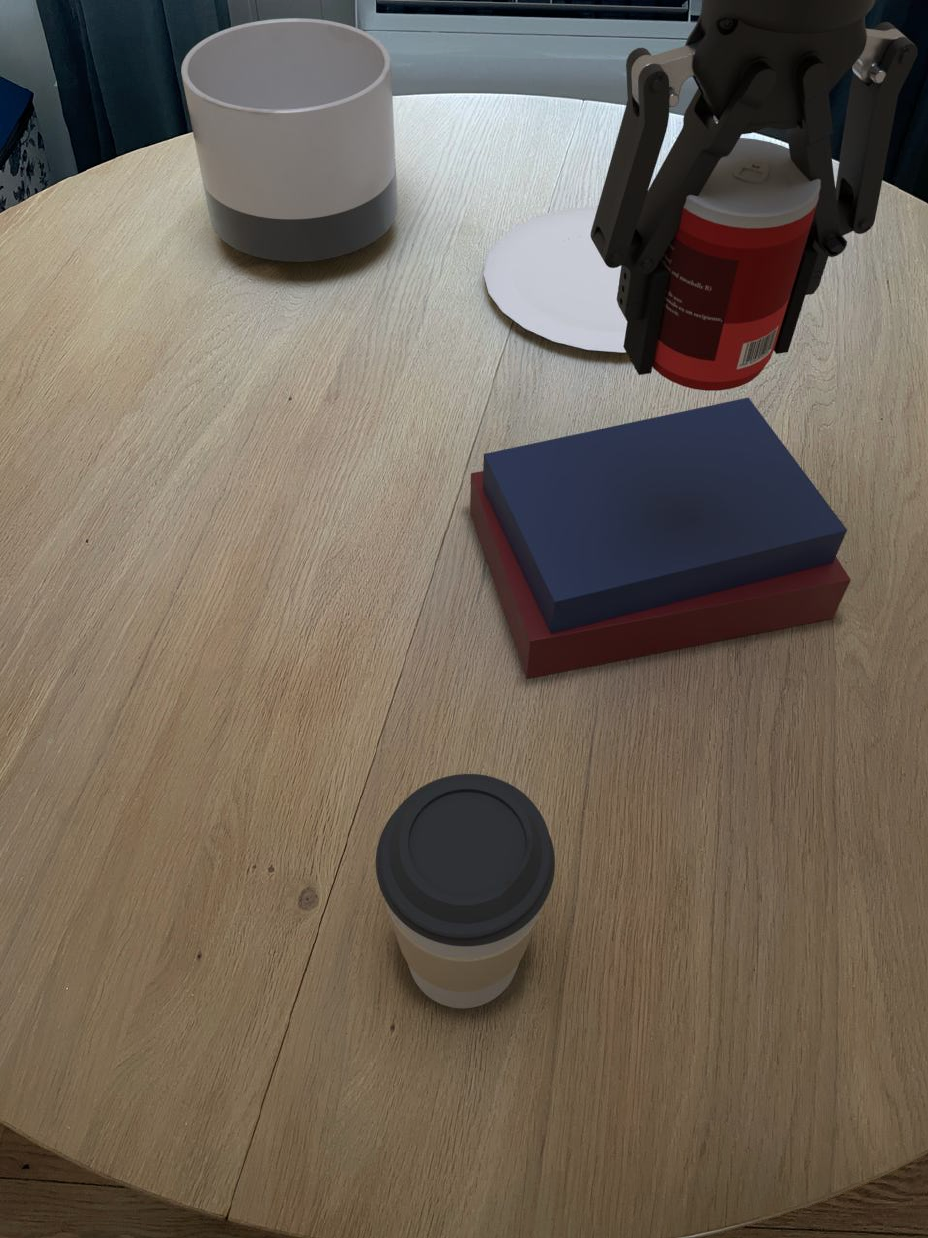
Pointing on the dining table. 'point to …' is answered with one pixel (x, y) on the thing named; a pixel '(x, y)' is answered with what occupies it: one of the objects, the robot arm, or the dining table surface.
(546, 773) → the dining table surface
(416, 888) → the coffee cup
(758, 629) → the book stack
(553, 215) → the plate
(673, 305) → the canned food
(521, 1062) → the dining table surface
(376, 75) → the planter
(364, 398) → the dining table surface
